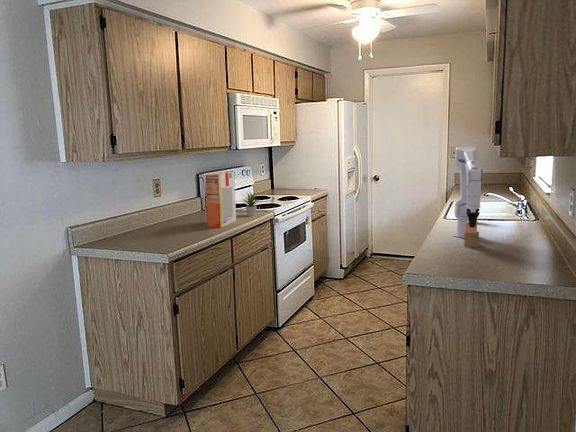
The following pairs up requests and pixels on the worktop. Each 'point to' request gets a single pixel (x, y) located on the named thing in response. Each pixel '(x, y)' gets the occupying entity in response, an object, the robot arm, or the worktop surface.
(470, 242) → the tower base
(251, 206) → the house plant
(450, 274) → the worktop surface
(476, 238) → the tower top
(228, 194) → the pasta box
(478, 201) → the robot arm
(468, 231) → the terracotta block
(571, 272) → the worktop surface
